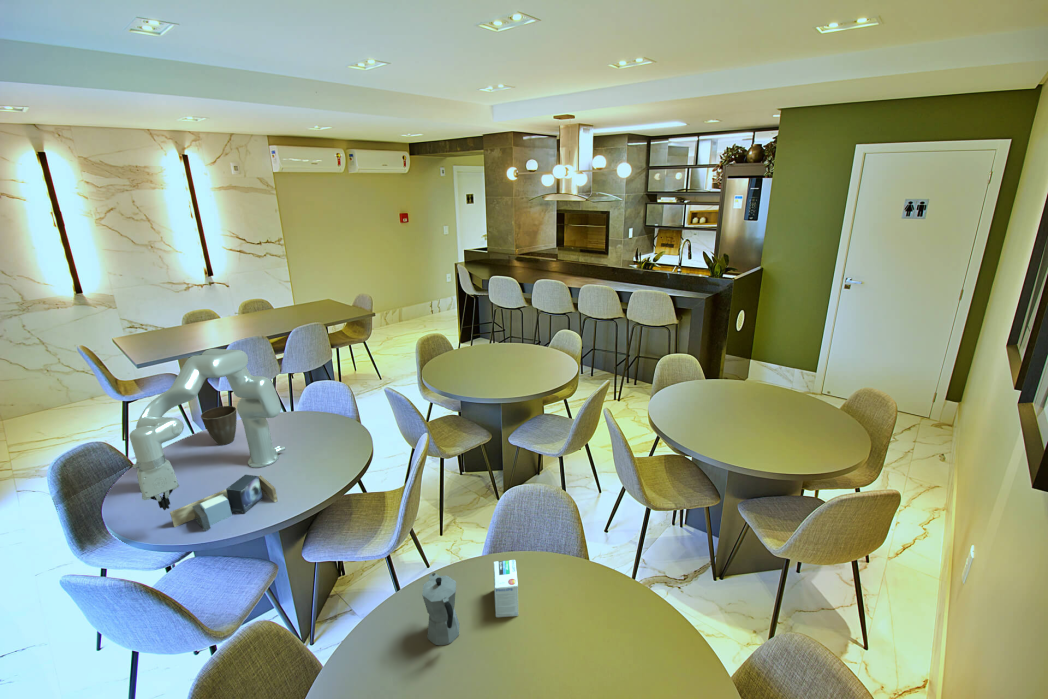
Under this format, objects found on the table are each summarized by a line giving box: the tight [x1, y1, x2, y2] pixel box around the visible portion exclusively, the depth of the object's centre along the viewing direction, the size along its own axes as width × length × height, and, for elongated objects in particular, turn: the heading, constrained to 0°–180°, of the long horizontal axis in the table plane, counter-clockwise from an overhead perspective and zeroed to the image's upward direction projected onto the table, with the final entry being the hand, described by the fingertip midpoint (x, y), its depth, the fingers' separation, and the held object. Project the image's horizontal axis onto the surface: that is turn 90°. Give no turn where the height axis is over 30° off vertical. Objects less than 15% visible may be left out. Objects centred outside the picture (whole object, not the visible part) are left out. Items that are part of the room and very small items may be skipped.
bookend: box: [192, 504, 211, 532], centre depth 184 cm, size 2×10×6 cm, turn 48°
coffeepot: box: [421, 572, 460, 646], centre depth 134 cm, size 15×9×18 cm, turn 28°
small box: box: [225, 474, 264, 515], centre depth 194 cm, size 11×6×10 cm, turn 168°
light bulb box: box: [493, 559, 519, 618], centre depth 145 cm, size 11×7×11 cm, turn 5°
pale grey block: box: [200, 494, 233, 527], centre depth 187 cm, size 8×6×8 cm
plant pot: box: [200, 405, 238, 446], centre depth 244 cm, size 15×15×16 cm
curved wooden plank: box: [169, 474, 278, 528], centre depth 190 cm, size 32×14×6 cm, turn 138°
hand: (165, 507), depth 175 cm, fingers closed
